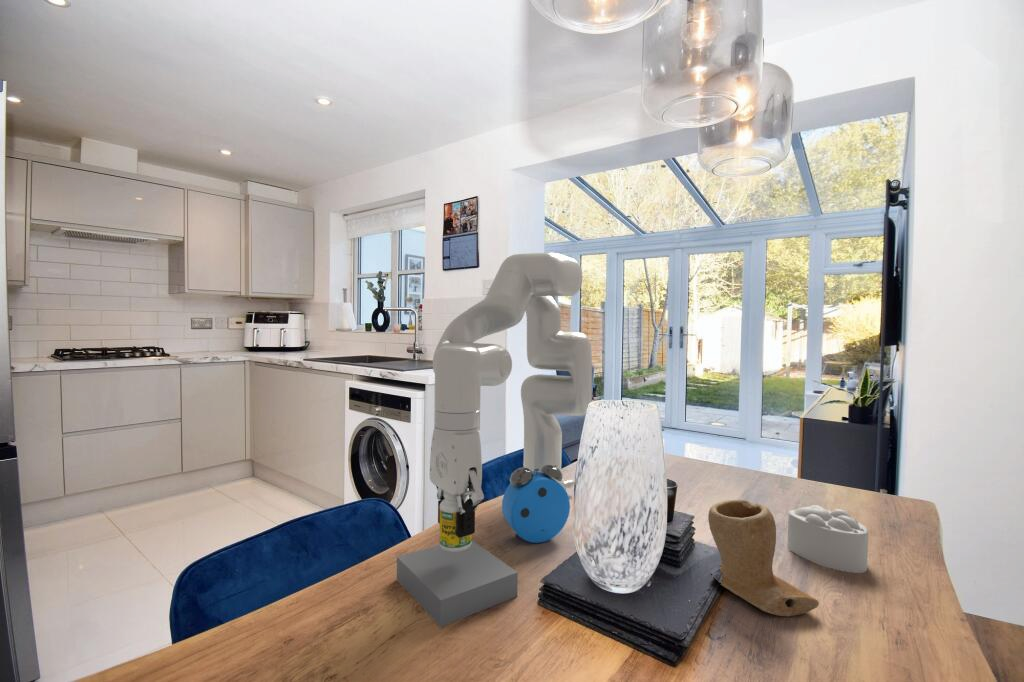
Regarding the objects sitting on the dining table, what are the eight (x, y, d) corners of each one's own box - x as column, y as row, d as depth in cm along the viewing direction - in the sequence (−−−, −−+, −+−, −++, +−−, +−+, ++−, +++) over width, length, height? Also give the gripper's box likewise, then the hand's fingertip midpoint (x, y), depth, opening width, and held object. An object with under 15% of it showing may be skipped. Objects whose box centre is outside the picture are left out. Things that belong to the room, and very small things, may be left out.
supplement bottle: (474, 539, 83) (474, 483, 83) (468, 553, 78) (469, 494, 78) (443, 537, 84) (444, 482, 83) (435, 551, 78) (436, 493, 78)
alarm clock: (557, 527, 106) (558, 459, 105) (570, 539, 100) (572, 467, 99) (500, 536, 101) (501, 465, 100) (511, 549, 95) (512, 474, 95)
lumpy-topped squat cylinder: (814, 538, 102) (816, 498, 102) (881, 567, 90) (883, 521, 90) (779, 546, 98) (781, 504, 98) (845, 578, 86) (847, 530, 86)
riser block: (466, 557, 92) (466, 536, 92) (517, 596, 79) (517, 572, 79) (396, 579, 83) (396, 556, 83) (440, 627, 71) (440, 600, 70)
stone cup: (691, 578, 85) (693, 494, 85) (745, 568, 89) (748, 488, 89) (760, 630, 71) (763, 530, 70) (820, 616, 75) (824, 520, 74)
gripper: (414, 414, 85) (413, 516, 85) (464, 433, 71) (462, 554, 72) (451, 410, 89) (450, 507, 90) (505, 427, 75) (503, 541, 76)
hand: (455, 527), depth 81 cm, fingers closed on supplement bottle, 5 cm apart
